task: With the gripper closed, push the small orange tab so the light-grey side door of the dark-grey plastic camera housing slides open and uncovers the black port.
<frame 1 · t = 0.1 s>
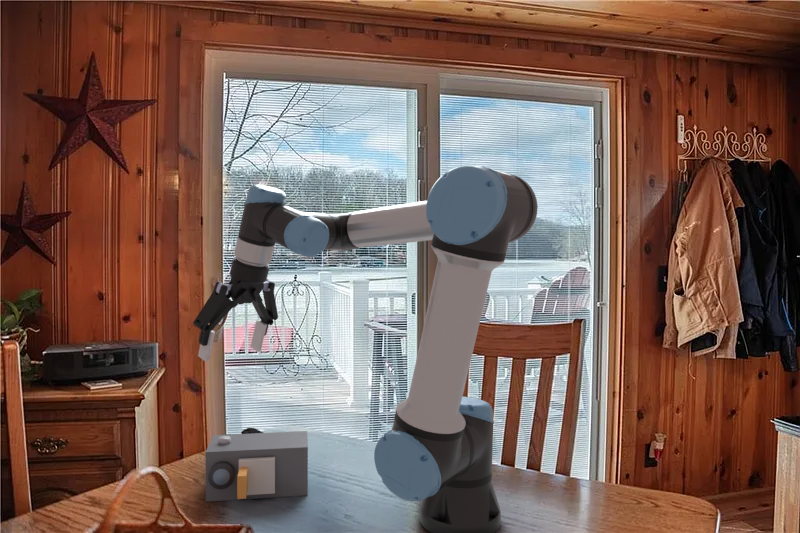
hand: (230, 353, 123), 28 cm above the table, tool tilted 20°, fingers open, 13 cm apart
film camera: (254, 464, 135), on the table
door: (256, 480, 113), point 5 cm above the table, slide at 0.0 cm
housing: (259, 487, 122), on the table
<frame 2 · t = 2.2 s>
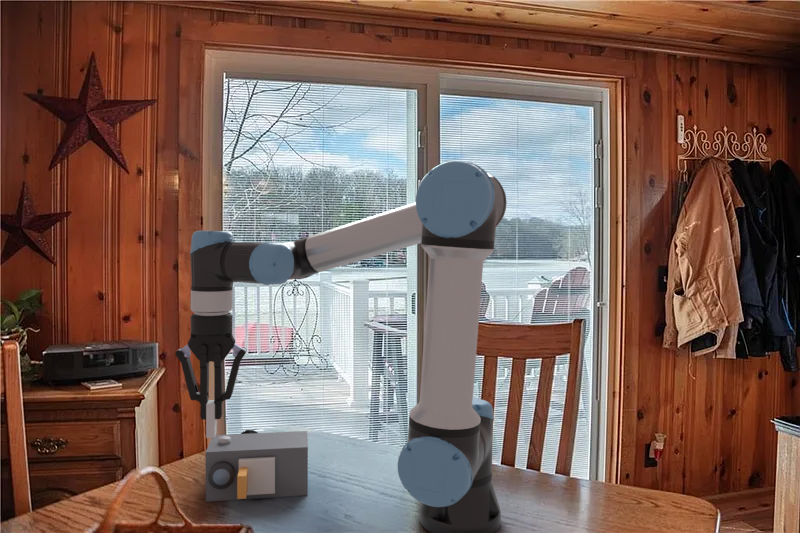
hand: (211, 435, 110), 15 cm above the table, tool pointing down, fingers closed
film camera: (253, 467, 133), on the table
everything else where it was.
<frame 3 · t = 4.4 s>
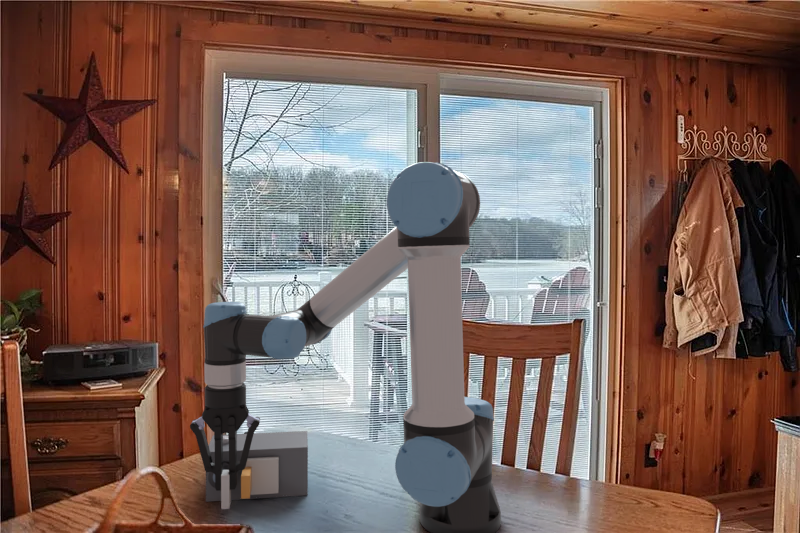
hand: (226, 505, 111), 1 cm above the table, tool pointing down, fingers closed
film camera: (252, 469, 132), on the table
door: (259, 480, 113), point 5 cm above the table, slide at 0.7 cm, touching gripper
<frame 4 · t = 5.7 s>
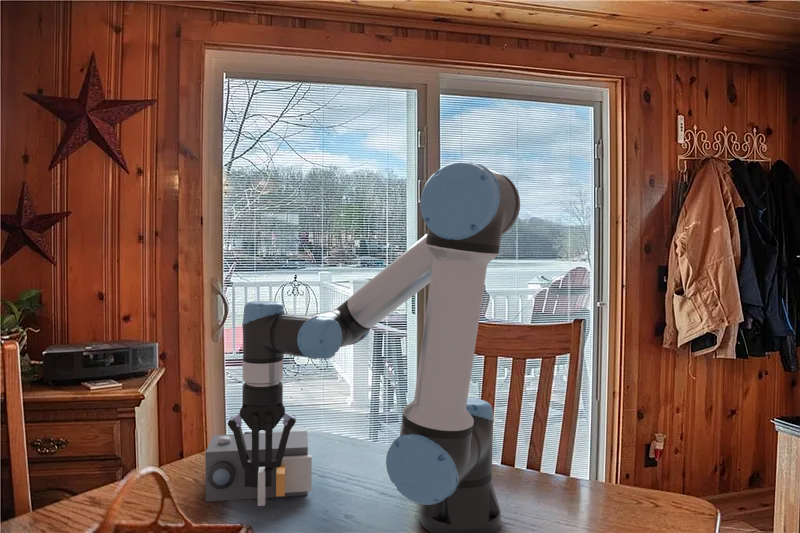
hand: (261, 502, 112), 1 cm above the table, tool pointing down, fingers closed
door: (293, 478, 114), point 5 cm above the table, slide at 7.3 cm, touching gripper
everything else where it was.
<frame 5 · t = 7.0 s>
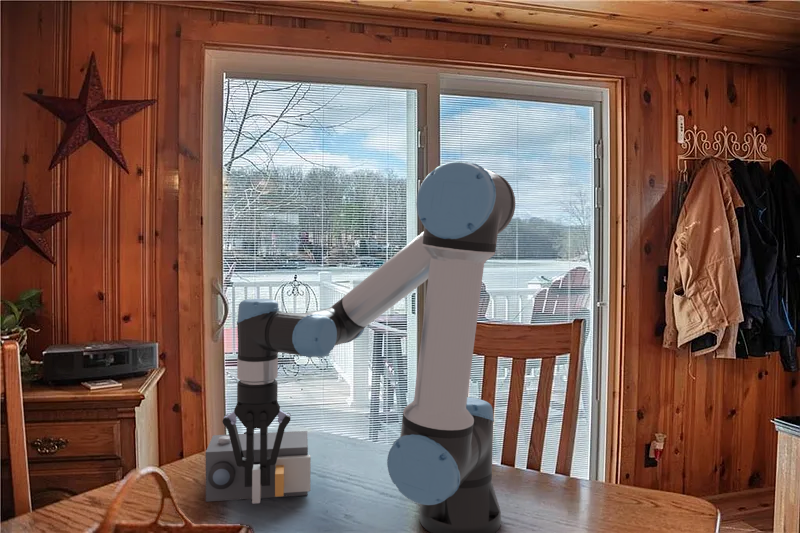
hand: (256, 500, 112), 2 cm above the table, tool pointing down, fingers closed
door: (292, 478, 114), point 5 cm above the table, slide at 7.0 cm
everything else where it was.
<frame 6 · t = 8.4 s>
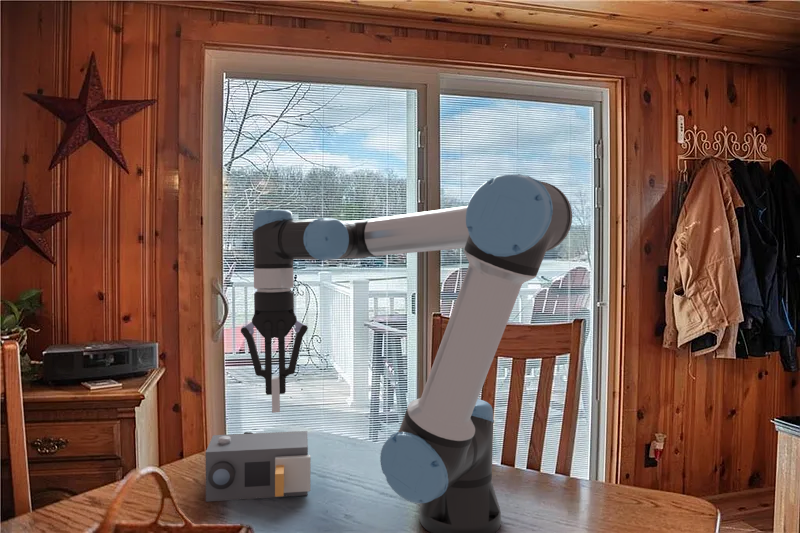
hand: (276, 410, 113), 19 cm above the table, tool pointing down, fingers closed
nothing on the table moved.
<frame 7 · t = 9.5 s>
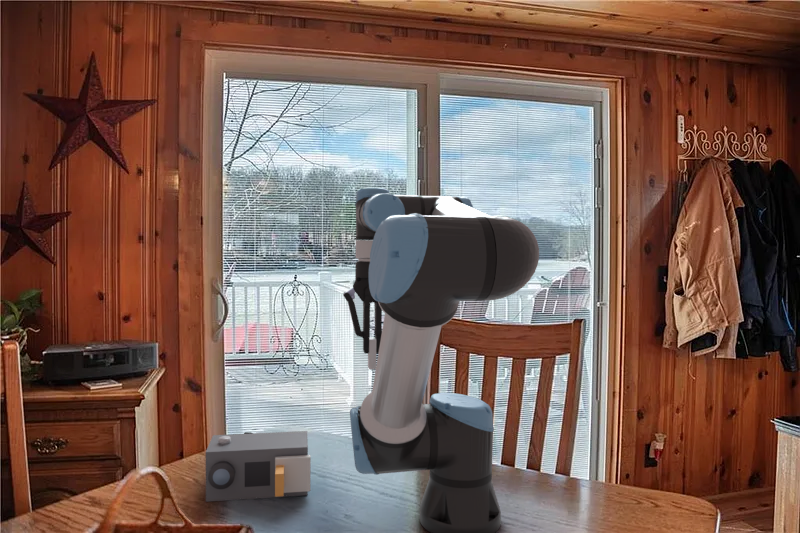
hand: (371, 367, 126), 24 cm above the table, tool pointing down, fingers closed
nothing on the table moved.
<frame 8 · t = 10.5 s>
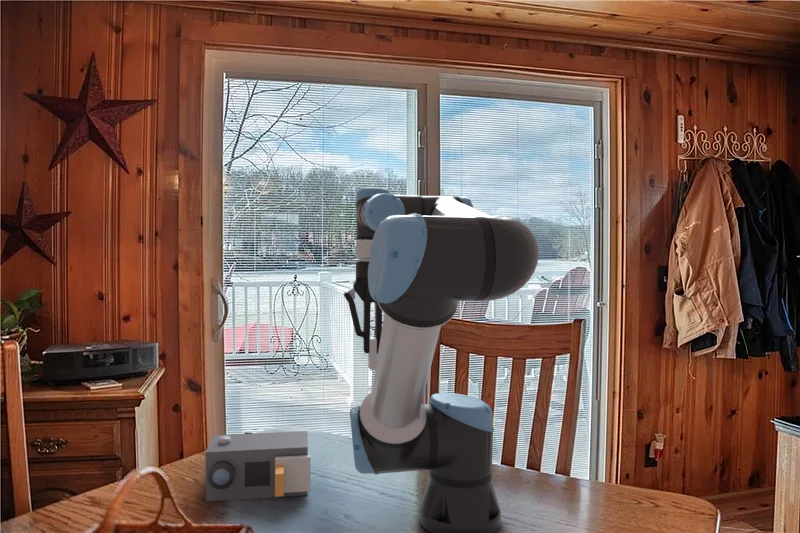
hand: (372, 367, 126), 24 cm above the table, tool pointing down, fingers closed
nothing on the table moved.
at the end: door slide at 7.0 cm; the gripper is holding nothing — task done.
